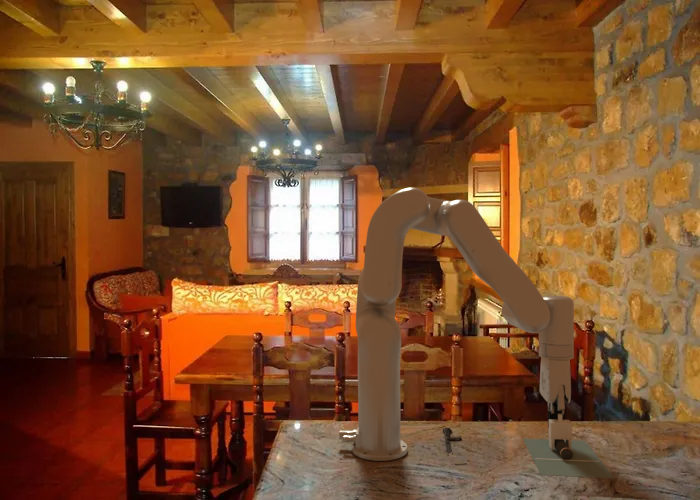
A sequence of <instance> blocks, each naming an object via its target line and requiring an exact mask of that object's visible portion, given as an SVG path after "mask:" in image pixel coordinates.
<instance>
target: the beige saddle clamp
mask: <svg viewBox="0 0 700 500" xmlns="http://www.w3.org/2000/svg"><path fill="white" fill-rule="evenodd" d="M548 439H549V446H550V448H551V450H554V439H563V440H566V444H567V445H568V447H569V448H570V449H571V440H573V423H572V422H571V420H569V419H564V420H562V414H558V420H555V419H549V428H548Z"/></svg>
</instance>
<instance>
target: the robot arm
mask: <svg viewBox="0 0 700 500" xmlns="http://www.w3.org/2000/svg"><path fill="white" fill-rule="evenodd" d="M411 229H412V230H415V231H416V230H417V231H420V232H424V233H429V234H433V235H439V236H444V237H449V238H450V240H451V242H452V243H453V245H454V246H455V248H457V250H458V251H459V253H460V254H461V256H462V258H463V259H464V261H465V262H466V263H467V265H468V266H469V268H470V269H471V271H472V272H473V273H474V274H475V275H476V276H477V277H478V278H479V279H480V280H481V281H483V282H484V283H485V284H486V285H488V286H489V287H490V288H491V289H492V290H493V291H494V292H495V293H496V294H497V295H498V296H499V297H500V299H501V300H502V302H503V304H502V305H501V314H502V317H503V319H504V320H505V321H506V322H507V323H508V324H509V325H512V326H513V327H515V328H517V329H519V330H522V331H524V332H526V333H530V334H538V357H540V358H541V359H540V371H539V394H540V395H541V396H542V397H543V399H544V400H545V401H546V402H547V428H548V429H549V419H555V420H558V414H562V420H565V410H566V407H565V405H566V404H567V405H568V404H570V402H571V397H572V396H571V395H572V381H571V379H572V378H571V363H570V361H571V360H573V359H574V358H575V350H574V349H575V346H574V345H575V343H574V342H575V337H574V335H575V334H574V333H575V326H574V324H575V303H574V300H573V298H571V297H569V296H565V295H544V296H543V295H541V293H540V291H539V290H538V288H537V287H536V286H535V284H534V282H533V281H532V280H531V279H530V277H528V275H527V274H526V273H525V271H523V269H521V267H520V266H519V265H518V264H517V262H515V260H514V259H513V258H512V257H511V255H509V253H508V252H507V251H506V250H505V248H504V247H503V246H502V244H501V243H500V242H499V240H498V239H497V238H496V236H495V234H494V233H493V231H492V229H491V228H490V227H489V225H488V224H487V223H486V221H485V219H484V218H483V216H482V215H481V213H480V212H479V210H478V209H477V207H476V206H475V205H473V204H472V203H471V202H470V201H468V200H466V199H454V200H445V199H439V198H436V197H430V196H428V195H427V194H426V192H425V191H423V190H422V189H420V188H418V187H406V188H403V189H400V190H398V191H396V192H395V193H393V194H391V195H389V196H388V197H386V198H385V199H384V200H383V201H382V202H381V203H380V204H379V206H378V207H377V208H376V209H375V211H374V213H373V214H372V216H371V218H370V221H369V224H368V227H367V231H366V233H367V234H366V241H365V249H364V259H363V268H362V270H361V271H360V273H359V276H358V281H357V291H356V293H357V294H356V311H355V332H356V336H357V389H358V391H357V398H358V399H357V400H358V402H357V404H358V406H357V407H358V409H357V410H358V411H357V412H358V413H357V414H358V415H357V416H358V423H357V424H358V425H357V429H355V428H354V429H353V430H345V429H343V430H342V429H340V430H339V432H338V438H339V439H340V440H342V442H343V443H352V444H351V452H352V454H353V455H355V456H356V457H357V458H359V459H363V460H366V461H367V460H368V461H374V462H388V461H395V460H397V459H400V458H403V457H404V456H405V455H406V454H407V453H408V444H407V443H406V442H405V441H404V440H402V439H401V355H402V330H401V327H400V324H399V322H398V321H397V319H396V306H397V305H396V303H397V299H398V297H399V296H400V293H401V291H402V288H403V285H402V284H403V283H402V277H403V276H402V274H403V272H402V271H403V255H404V254H403V253H404V247H405V246H404V245H405V240H406V237H407V234H408V232H409V231H410V230H411Z"/></svg>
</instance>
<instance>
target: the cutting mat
mask: <svg viewBox="0 0 700 500" xmlns="http://www.w3.org/2000/svg"><path fill="white" fill-rule="evenodd" d="M522 440H523V442H524V444H525V446H526V449H527V450H528V452H529V454H530V457H531V459H532V460H533V462H534V465H535V466H536V468H537V471H538V473H539V474H540V476H550V477H551V476H555V477H578V478H595V479H596V478H598V479H599V478H601V479H615V476H614V475H613V474H612V473H611V471H610V470H609V468H607V466H606V465H605V464H604V462H602V460H601V459H600V458H599V456H598V455H597V454H596V452H594V450H593V449H592V448H591V446H590V445H589V444H588V442H587V441H586V440H574V439H572V440H571V451H572V452H573V457H572V459H570V460H564V459H563V458H562V457H561V455H560V453H559V452H558V450H557V449H556V447H555V445H554V450H551V448H550V446H549V438H548V439H547V438H546V439H543V438H522ZM563 440H564V439H563ZM564 441H565V442H566V440H564Z"/></svg>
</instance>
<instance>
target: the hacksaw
mask: <svg viewBox="0 0 700 500" xmlns="http://www.w3.org/2000/svg"><path fill="white" fill-rule="evenodd" d="M442 433H443V435H444V439H445V440H446V441H444V442H445V449H446V452H447V453H448V454H449V453H451V452H452V455H453V456H454V454H453V450H452V443H451V441H461V440H463V439H462V435H460V436H452V437H451V434H452V433H453V430H452V429H451V428H450V427H443V428H442ZM448 454H447V457H448V456H449V455H448ZM454 464H455V465H456V466H466V465H468V464H467V462H464V463H463V462H462V463H452V464H451V465H454ZM455 465H454V466H455Z"/></svg>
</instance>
